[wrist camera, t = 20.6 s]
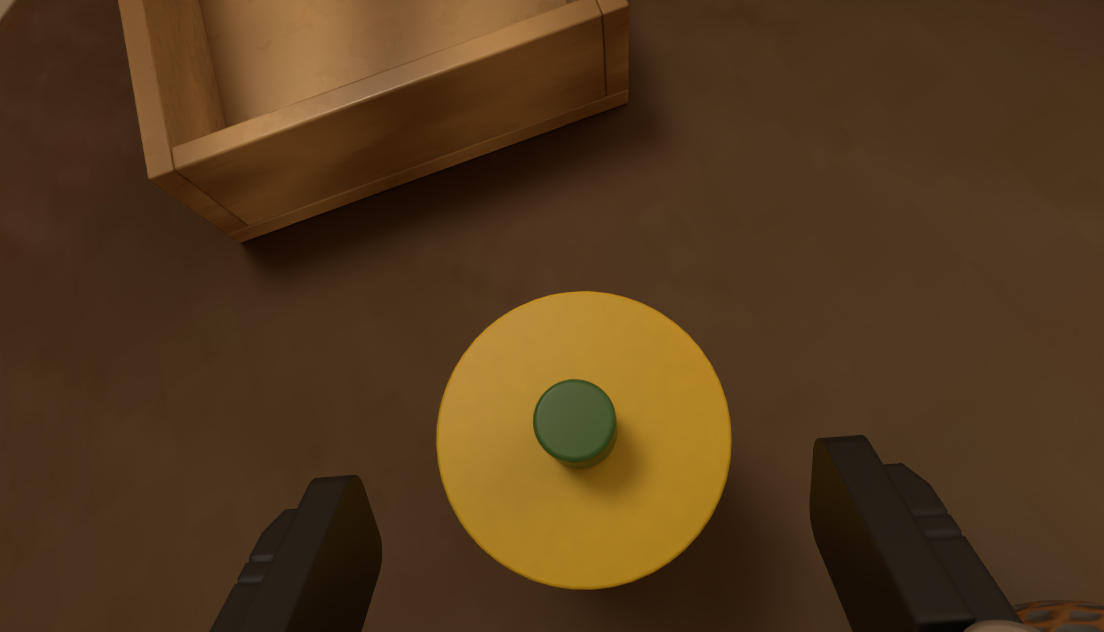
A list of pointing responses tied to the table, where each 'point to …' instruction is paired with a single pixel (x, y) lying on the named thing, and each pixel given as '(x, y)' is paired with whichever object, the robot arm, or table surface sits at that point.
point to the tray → (353, 93)
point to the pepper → (584, 440)
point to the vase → (1062, 616)
